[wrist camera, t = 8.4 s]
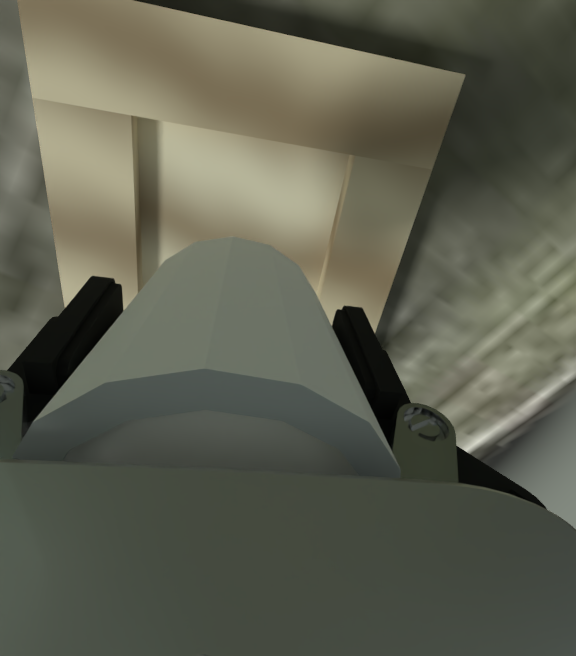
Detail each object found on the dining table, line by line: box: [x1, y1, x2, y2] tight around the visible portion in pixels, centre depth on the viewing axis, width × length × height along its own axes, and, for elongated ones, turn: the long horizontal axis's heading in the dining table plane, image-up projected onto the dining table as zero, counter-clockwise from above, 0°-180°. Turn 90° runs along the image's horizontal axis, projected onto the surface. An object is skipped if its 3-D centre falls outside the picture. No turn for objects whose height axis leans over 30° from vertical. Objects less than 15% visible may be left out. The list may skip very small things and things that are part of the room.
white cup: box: [12, 236, 401, 478], centre depth 10 cm, size 7×7×7 cm
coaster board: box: [17, 0, 465, 333], centre depth 19 cm, size 16×16×2 cm
